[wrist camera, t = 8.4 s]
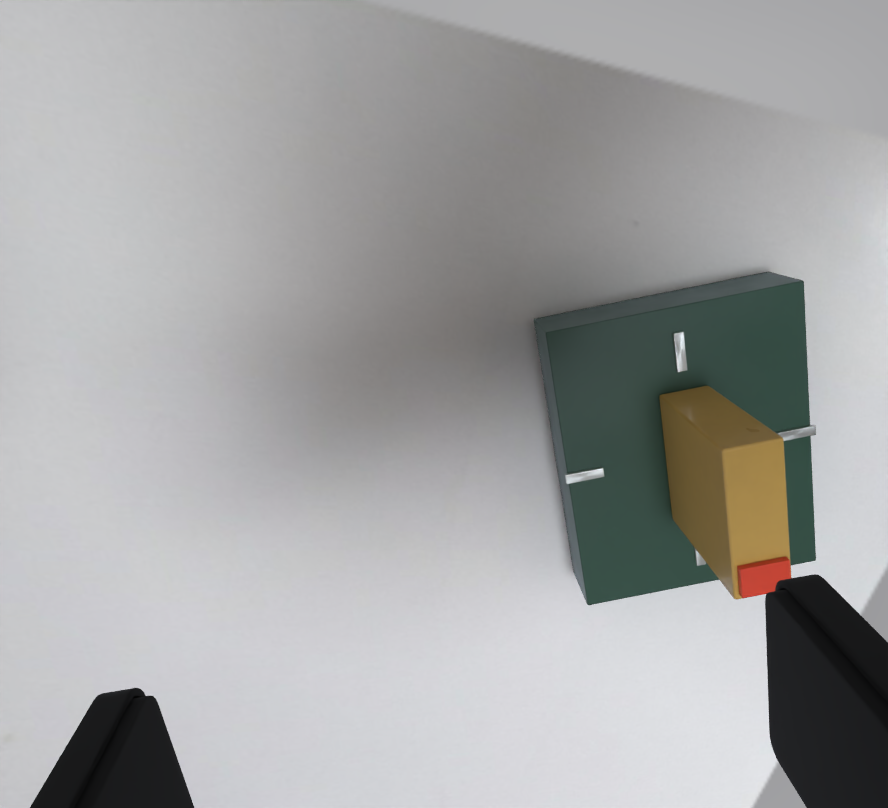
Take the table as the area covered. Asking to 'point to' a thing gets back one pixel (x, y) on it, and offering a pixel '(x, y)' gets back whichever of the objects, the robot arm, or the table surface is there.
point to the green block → (640, 424)
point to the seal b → (728, 489)
